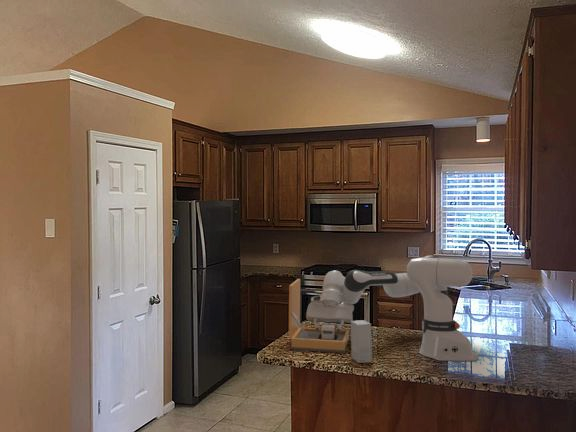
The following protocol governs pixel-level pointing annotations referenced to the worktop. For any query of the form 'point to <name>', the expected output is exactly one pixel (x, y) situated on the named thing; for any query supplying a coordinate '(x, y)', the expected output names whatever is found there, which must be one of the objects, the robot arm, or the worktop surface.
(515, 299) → the worktop surface
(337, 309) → the robot arm
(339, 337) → the equipment case
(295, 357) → the worktop surface
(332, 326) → the plate
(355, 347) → the skincare box
